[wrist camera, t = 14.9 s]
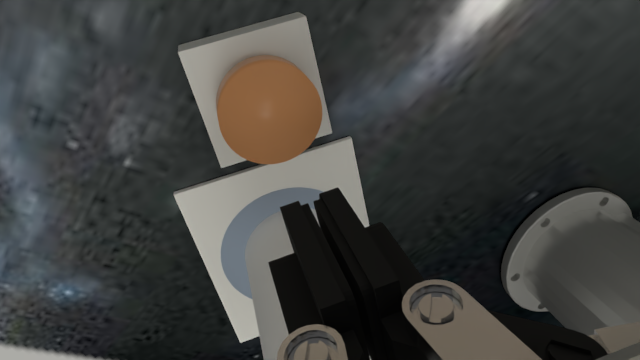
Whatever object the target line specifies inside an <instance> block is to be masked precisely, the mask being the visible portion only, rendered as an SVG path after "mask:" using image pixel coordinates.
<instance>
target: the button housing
mask: <svg viewBox="0 0 640 360" xmlns="http://www.w3.org/2000/svg"><path fill="white" fill-rule="evenodd" d="M178 54H179V57H180V59H181V62H182V65H183V67H184V70H185V73H186V75H187V78H188V81H189V83H190V86H191V89H192V91H193V94H194V97H195V99H196V102H197V105H198V107H199V110H200V113H201V115H202V118H203V121H204V123H205V126H206V129H207V131H208V134H209V137H210V139H211V142H212V145H213V147H214V150H215V153H216V155H217V158H218V161H219V163H220V166H221V168H223V167H227V166H230V165H233V164H236V163H239V162H242V161H246V159H244V158H242V157H241V156H239V155H238V154H236V153H235V152H234V151H233V150H232V149H231V148H230V147H229V145H228V144H227V143H226V141H225V140H224V138H223V136H222V133H221V131H220V127H219V122H218V117H217V111H216V96H217V92H218V88H219V86H220V83H221V81H222V80H223V78H224V76H225V75H226V74H227V73H228V71H229V70H230V69H231V68H233V67H234V66H235V65H236V64H238V63H239V62H241V61H243V60H245V59H247V58H250V57H254V56H259V55H272V56H278V57H281V58H284V59H286V60H288V61H290V62H292V63H293V64H295V65H296V66H297V67H298V68H299V69H300V70H301V71H302V72H303V73H304V74H305V75H306V76H307V77H308V78H309V80H310V81H311V82H312V83H313V84H314V86H315V88H316V89H317V91H318V93H319V96H320V99H321V103H322V121H321V126H320V129H319V131H318V134H317V135H316V137H315V138H318V137H322V136H325V135H328V134H331V133H332V129H331V125H330V120H329V116H328V111H327V107H326V103H325V98H324V94H323V89H322V85H321V80H320V76H319V71H318V67H317V63H316V58H315V54H314V49H313V45H312V40H311V36H310V31H309V27H308V23H307V18H306V16H305V15H303V14H301V13H300V12H295V13H292V14H288V15H284V16H281V17H277V18H274V19H270V20H267V21H263V22H259V23H256V24H252V25H249V26H245V27H242V28H238V29H234V30H231V31H227V32H224V33H220V34H216V35H213V36H209V37H206V38H202V39H199V40H195V41H191V42H188V43H184V44H181V45H178Z"/></svg>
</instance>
